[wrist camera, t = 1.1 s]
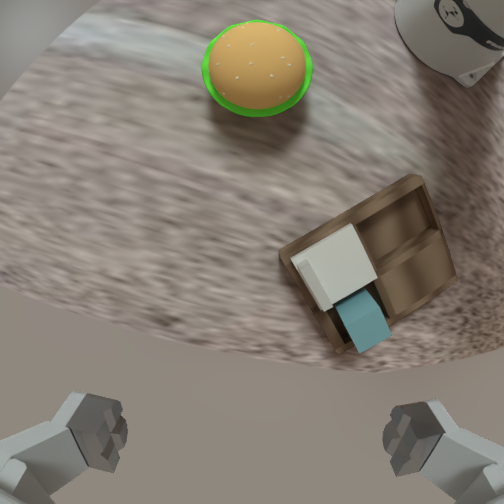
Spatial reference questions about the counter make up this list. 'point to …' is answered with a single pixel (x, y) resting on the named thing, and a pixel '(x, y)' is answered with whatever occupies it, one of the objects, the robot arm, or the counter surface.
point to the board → (387, 254)
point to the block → (363, 319)
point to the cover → (334, 267)
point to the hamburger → (257, 68)
